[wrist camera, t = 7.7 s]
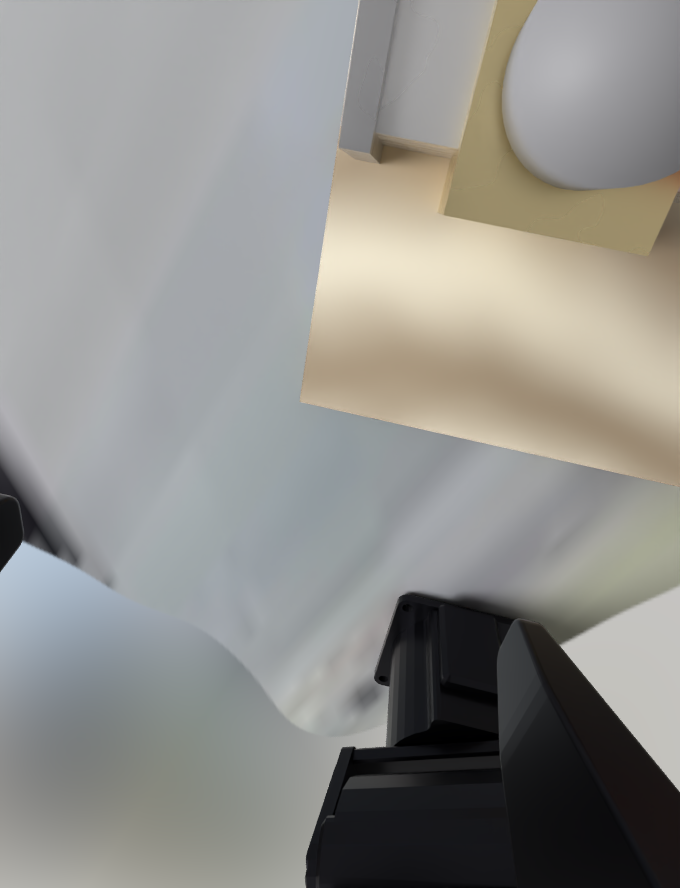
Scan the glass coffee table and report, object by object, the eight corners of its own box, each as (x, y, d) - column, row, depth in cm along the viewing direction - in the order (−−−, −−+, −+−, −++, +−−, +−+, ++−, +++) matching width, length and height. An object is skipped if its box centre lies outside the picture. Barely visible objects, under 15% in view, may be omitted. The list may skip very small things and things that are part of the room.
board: (668, 473, 19) (680, 487, 18) (304, 392, 20) (299, 401, 19) (994, -77, 12) (1042, -100, 11) (391, -175, 12) (389, -205, 11)
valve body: (776, 280, 15) (904, 308, 11) (347, 194, 16) (324, 191, 12) (916, 42, 12) (1153, -33, 8) (388, -50, 13) (374, -162, 9)
